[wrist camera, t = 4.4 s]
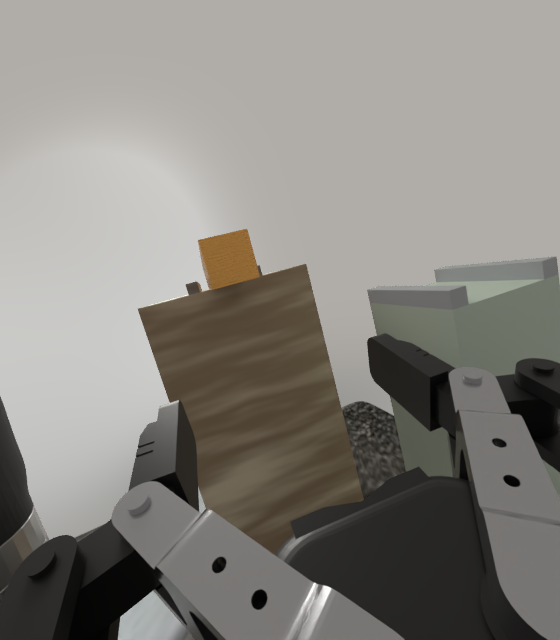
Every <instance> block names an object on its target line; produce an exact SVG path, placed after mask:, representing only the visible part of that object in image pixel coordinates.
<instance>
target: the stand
mask: <svg viewBox="0 0 560 640" xmlns="http://www.w3.org/2000/svg"><path fill="white" fill-rule="evenodd" d="M257 267H258V271H259V275H260V277H259V278H255V279H251V280H248V281H244V282H240V283H236V284H233V285H229V286H225V287H221V288H218V289H214V290H211V289H208V290H205V291H202V289H201V287H200V284H199V283H198V282H193V283H190V284H186V287H187V291H188V293H189V295H186V296H182V297H179V298H174V299H171V300H167V301H164V302H160V303H156V304H153V305H150V306H146V307H143V308H139V309H138V311H139V314H140V317H141V320H142V323H143V326H144V329H145V332H146V335H147V337H148V340H149V343H150V346H151V349H152V352H153V355H154V358H155V361H156V364H157V367H158V370H159V372H160V375H161V378H162V381H163V384H164V387H165V390H166V393H167V396H168V399H169V401H170V403H171V402H175V401H178V400H180V401H181V402H182V404H183V407H184V409H185V412H186V415H187V417H188V420H189V422H190V425H191V428H192V430H193V433H194V437H195V441H196V448H197V474H198V487H199V490H200V492H201V495H202V498H203V501H204V504H205V507H206V509H209V510H212V511H213V512H215V513H216V514H218V515H219V516H221V517H222V518H223V519H225V520H226V521H228V522H229V523H230V524H232V525H233V526H235V527H236V528H237V529H239V530H240V531H242V532H243V533H244V534H246V535H247V536H249V537H250V538H251V539H253V540H254V541H256V542H257V543H258V544H260V545H261V546H263V547H264V548H265V549H267V550H268V551H270V552H271V553H272V554H275V553H276V551H277V550H278V549H279V547H280V546H281V545H282V544H283V543H284V542H285V541H286V540H287V539H288V538H289V537H291V536H292V535H293V531H292V527H291V523H290V521H293V520H295V519H297V518H300V517H302V516H304V515H307V514H309V513H311V512H314V511H316V510H318V509H321V508H323V507H328V506H334V505H341V504H347V503H354V502H360V501H363V500H364V499H363V495H362V491H361V487H360V483H359V479H358V474H357V470H356V466H355V462H354V458H353V454H352V450H351V446H350V442H349V438H348V434H347V430H346V425H345V421H344V417H343V413H342V409H341V405H340V401H339V397H338V393H337V389H336V385H335V381H334V376H333V372H332V368H331V364H330V360H329V356H328V352H327V348H326V344H325V340H324V336H323V331H322V327H321V324H320V319H319V315H318V311H317V307H316V303H315V299H314V295H313V290H312V286H311V282H310V278H309V274H308V271H307V266H306V264H304V265H300V266H296V267H292V268H288V269H284V270H280V271H276V272H272V273H268V274H264V275H262V272H261V269H260V266H257Z"/></svg>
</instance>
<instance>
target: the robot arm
mask: <svg viewBox="0 0 560 640" xmlns="http://www.w3.org/2000/svg"><path fill="white" fill-rule="evenodd" d="M367 345H368V356H369V366H370V373H371V375H372V378H373V379H374V381H375V382H376V383H377V384H378V385H379V386H380V387H381V388H382V389H383V390H384V391H386V392H387V393H388V394H389V395H390V396H391V397H392V398H393V399H394V400H395V401H397V402H398V403H399V404H400V405H401V406H402V407H403V408H404V409H405V410H407V411H408V412H409V413H410V414H411V415H412V416H413V417H414V418H415V419H417V420H418V421H419V422H420V423H421V424H422V425H423V426H424V427H425V428H427V429H428V430H429V431H430V432H431V431H434V430H436V429H438V428H441V427H443V428H444V429H445V430H446V431H447V439H448V445H449V452H450V459H451V466H452V473H453V477H448V476H427V475H426V473H425V472H424V471H423V470H422V469H421V468H420V467H416V468H414V469H412V470H409V471H407V472H405V473H402V474H400V475H398V476H395V477H393V478H391V479H389V480H388V481H386V482H385V483H384V484H383V485H382V486H380V487H379V488H378V489H377V490H376V491H374V492H373V493H372V494H371V495H369V496H368V497H367V498H366V499H364V500H363V501H360V502H354V503H347V504H341V505H334V506H328V507H323V508H321V509H318V510H316V511H314V512H311V513H309V514H307V515H304V516H302V517H300V518H297V519H295V520H293V521H290V523H291V527H292V531H293V535H292V536H291V537H289V538H288V539H287V540H286V541H285V542H284V543H283V544H282V545H281V546H280V547H279V549H278V550H277V551H276V553H275V554H272V553H271V552H270V551H268V550H267V549H265V548H264V547H263V546H261V545H260V544H258V543H257V542H256V541H254V540H253V539H251V538H250V537H249V536H247V535H246V534H244V533H243V532H242V531H240V530H239V529H237V528H236V527H235V526H233V525H232V524H230V523H229V522H228V521H226V520H225V519H223V518H222V517H221V516H219V515H218V514H216V513H215V512H213V511H212V510H209V509H206V510H205V511H204V512H203V513H202V514H201V513H200V512H199V500H198V474H197V448H196V441H195V437H194V433H193V430H192V428H191V425H190V422H189V420H188V417H187V415H186V412H185V409H184V407H183V404H182V402H181V401H180V400H178V401H175V402H171V403H168V404H165V405H162V406H160V407H159V412H158V419H157V421H156V422H153V423H150V424H148V425H147V427H146V428H145V429H144V431H143V433H142V434H141V435H140V439H139V444H138V449H137V453H136V459H135V463H134V468H133V472H132V477H131V482H130V487H129V491H128V492H127V493H126V494H125V495H124V496H123V497H122V498H121V499H120V500H119V502H118V503H117V504H116V506H115V508H114V510H113V513H112V519H111V520H110V521H108V522H107V523H106V524H105V525H103V526H102V527H101V528H99V529H98V530H96V531H94V532H93V533H91V534H90V535H88V536H87V537H85V538H84V539H82V540H81V541H79V542H77V541H76V540H75V539H74V537H72V536H68V535H63V536H58V537H56V538H53V539H51V540H49V538H48V536H47V533H46V531H45V529H44V527H43V525H42V523H41V521H40V518H39V516H38V514H37V512H36V509H35V507H34V505H33V502H32V500H31V497H30V495H29V492H28V486H27V476H26V469H25V464H24V461H23V458H22V455H21V453H20V450H19V447H18V445H17V442H16V440H15V437H14V434H13V431H12V428H11V425H10V423H9V420H8V417H7V414H6V411H5V408H4V405H3V403H2V400H1V397H0V640H118V631H119V622H120V616H122V615H123V614H124V613H125V612H127V611H128V610H129V609H130V608H132V607H133V606H134V605H135V604H137V603H138V602H139V601H140V600H142V599H143V598H144V597H145V596H147V595H148V594H149V593H150V592H152V591H154V592H155V593H156V594H157V595H158V597H159V598H160V599H161V600H162V601H163V602H164V604H165V605H166V606H167V607H168V608H169V609H170V611H171V612H172V613H173V614H174V615H175V616H176V618H177V619H178V620H179V621H180V622H181V623H182V625H183V626H184V627H185V628H186V629H187V630H188V632H189V633H190V634H191V635H192V637H193V638H194V639H195V640H560V498H559V496H558V494H557V492H556V490H555V488H554V485H553V483H552V481H551V479H550V477H549V474H548V472H547V470H546V468H545V466H544V463H543V461H542V460H544V461H545V462H546V463H548V464H549V465H550V466H552V467H553V468H554V469H556V470H557V471H558V472H560V363H558V362H555V361H551V360H547V359H541V358H528V359H523V360H520V361H518V362H517V363H516V367H515V374H510V375H501V376H494V375H493V374H492V373H490V372H488V371H486V370H484V369H480V368H476V367H460V368H454V367H452V366H451V365H449V364H447V363H446V362H444V361H442V360H440V359H439V358H437V357H435V356H434V355H432V354H429V353H428V352H427V351H425V350H422V349H421V348H420V347H418V346H416V345H415V344H413V343H410V342H406V341H402V340H399V341H398V340H397V339H395V338H394V337H392V336H390V335H389V334H387V333H384V334H380V335H377V336H374V337H371V338H369V339H368V342H367Z"/></svg>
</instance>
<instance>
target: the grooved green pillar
mask: <svg viewBox="0 0 560 640" xmlns="http://www.w3.org/2000/svg"><path fill="white" fill-rule="evenodd" d="M434 271H435V277H436V283H433V284H429V285H426V286H386V287H385V286H381V287H376V288H373V289H369V290H367V291H368V296H369V300H370V305H371V310H372V314H373V319H374V324H375V328H376V333H377V335H380V334H384V333H387V334H389V335H390V336H392V337H394V338H395V339H397V340H398V341H399V340H402V341H406V342H410V343H413V344H415V345H416V346H418V347H420V348H421V349H422V350H425V351H427V352H428V353H429V354H432V355H434V356H435V357H437V358H439V359H440V360H442V361H444V362H446V363H447V364H449V365H451V366H452V367H454V368H460V367H476V368H480V369H484V370H486V371H488V372H490V373H492V374H493V375H494V376H501V375H510V374H515V367H516V363H517V362H518V361H520V360H523V359H528V358H541V359H547V360H551V361H555V362H558V363H560V285H559V276H558V267H557V258H556V257H547V258H536V259H525V260H514V261H503V262H492V263H481V264H471V265H460V266H450V267H443V268H439V269H436V270H434ZM390 398H391V403H392V407H393V412H394V417H395V421H396V426H397V431H398V435H399V440H400V445H401V449H402V454H403V459H404V463H405V468H406V472H407V471H409V470H412V469H414V468H416V467H420V468H421V469H422V470H423V471H424V472H425V473H426V475H427V476H448V477H453V473H452V466H451V459H450V452H449V445H448V439H447V431H446V430H445V429H444V428H443V427H441V428H438V429H436V430H434V431H431V432H430V431H429V430H428V429H427V428H425V427H424V426H423V425H422V424H421V423H420V422H419V421H418V420H417V419H415V418H414V417H413V416H412V415H411V414H410V413H409V412H408V411H407V410H405V409H404V408H403V407H402V406H401V405H400V404H399V403H398V402H397V401H395V400H394V399H393V398H392V397H391V396H390ZM542 461H543V463H544V466H545V468H546V470H547V472H548V474H549V477H550V479H551V481H552V483H553V485H554V488H555V490H556V492H557V494H558V496H559V498H560V472H558V471H557V470H556V469H554V468H553V467H552V466H550V465H549V464H548V463H546V462H545V461H544V460H542Z"/></svg>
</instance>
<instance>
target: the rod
mask: <svg viewBox="0 0 560 640" xmlns="http://www.w3.org/2000/svg"><path fill="white" fill-rule="evenodd" d="M198 243H199V249H200V254H201V260H202V266H203V270H204V273H205V277H206V280H207V283H208V287H209V289H211V290H214V289H218V288H221V287H225V286H229V285H233V284H236V283H240V282H244V281H248V280H251V279H255V278H259V277H260V275H259V271H258V267H257V264H256V260H255V256H254V253H253V249H252V245H251V242H250V238H249V234H248V231H247V229H244V230H240V231H236V232H231V233H227V234H223V235H218V236H214V237H210V238H205V239H201V240H198Z"/></svg>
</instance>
